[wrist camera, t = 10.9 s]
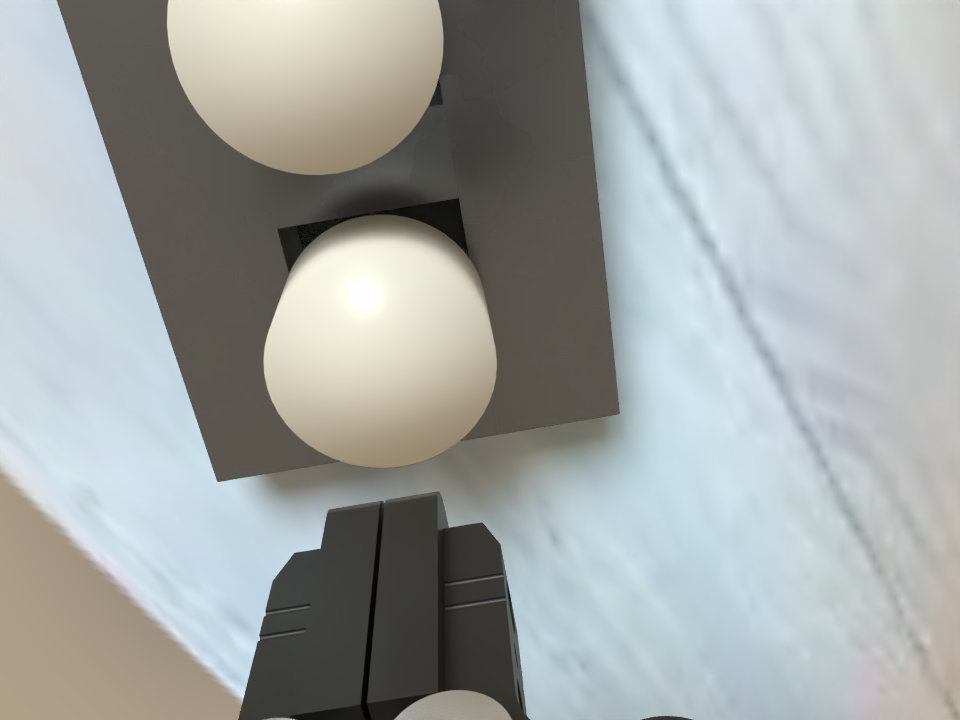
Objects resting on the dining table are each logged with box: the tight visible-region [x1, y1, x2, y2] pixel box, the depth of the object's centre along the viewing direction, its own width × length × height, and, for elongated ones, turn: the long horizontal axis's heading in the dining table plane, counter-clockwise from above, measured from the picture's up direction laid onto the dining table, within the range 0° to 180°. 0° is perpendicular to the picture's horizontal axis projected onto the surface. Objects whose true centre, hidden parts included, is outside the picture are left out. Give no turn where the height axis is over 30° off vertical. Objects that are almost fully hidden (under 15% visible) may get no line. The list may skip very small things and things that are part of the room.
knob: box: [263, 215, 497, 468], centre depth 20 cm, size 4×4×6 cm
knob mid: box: [167, 0, 443, 175], centre depth 17 cm, size 4×4×6 cm
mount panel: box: [57, 0, 620, 482], centre depth 19 cm, size 10×20×2 cm, turn 9°
